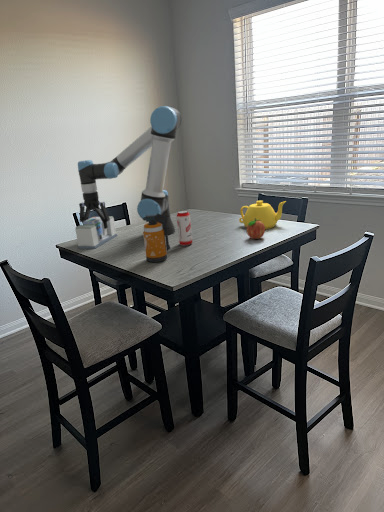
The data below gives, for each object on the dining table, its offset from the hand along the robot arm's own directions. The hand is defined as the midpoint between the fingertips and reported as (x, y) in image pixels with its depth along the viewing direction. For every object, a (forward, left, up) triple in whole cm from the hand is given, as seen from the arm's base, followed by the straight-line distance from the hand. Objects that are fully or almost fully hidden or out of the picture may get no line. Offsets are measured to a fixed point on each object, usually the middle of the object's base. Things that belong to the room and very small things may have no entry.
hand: (97, 234), depth 205 cm
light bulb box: (+1, 0, -3) cm, 3 cm away
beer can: (-50, +4, -4) cm, 50 cm away
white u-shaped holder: (0, 0, -4) cm, 4 cm away
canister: (-45, +26, -4) cm, 52 cm away
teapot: (-82, -29, -4) cm, 87 cm away
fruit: (-82, -6, -4) cm, 82 cm away
